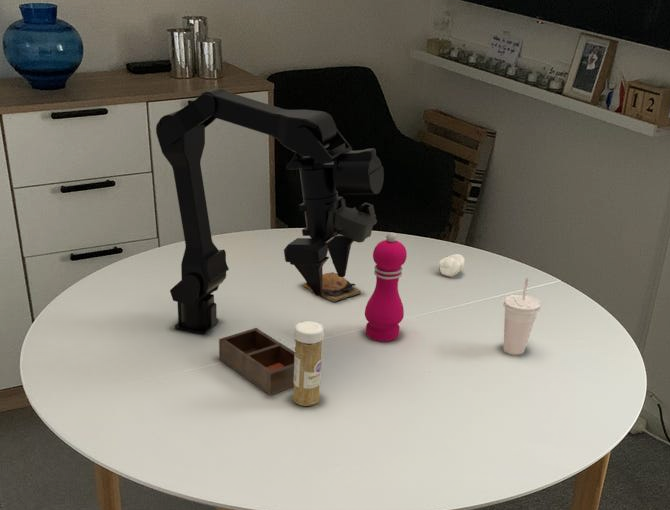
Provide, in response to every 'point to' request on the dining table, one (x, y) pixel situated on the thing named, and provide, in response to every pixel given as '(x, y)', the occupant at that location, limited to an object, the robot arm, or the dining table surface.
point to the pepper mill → (386, 291)
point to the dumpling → (451, 265)
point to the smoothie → (519, 320)
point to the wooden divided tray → (259, 359)
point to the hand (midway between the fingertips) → (330, 286)
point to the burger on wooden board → (336, 287)
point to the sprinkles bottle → (307, 363)
